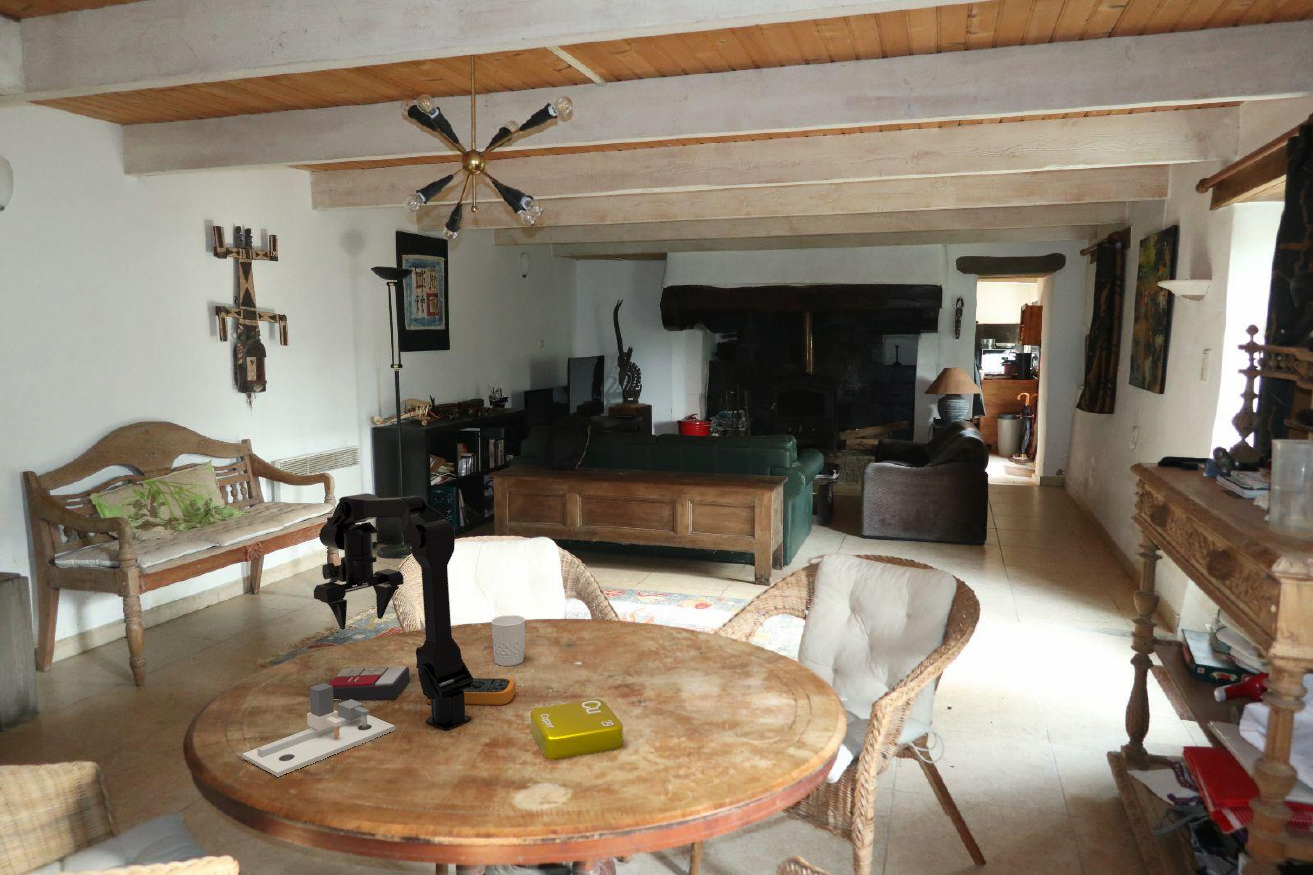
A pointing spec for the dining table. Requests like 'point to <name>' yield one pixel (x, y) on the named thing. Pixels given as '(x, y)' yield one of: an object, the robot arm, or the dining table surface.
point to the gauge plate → (320, 741)
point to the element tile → (576, 729)
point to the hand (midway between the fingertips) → (361, 623)
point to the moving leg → (323, 709)
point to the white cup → (508, 639)
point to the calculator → (370, 683)
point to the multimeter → (488, 691)
